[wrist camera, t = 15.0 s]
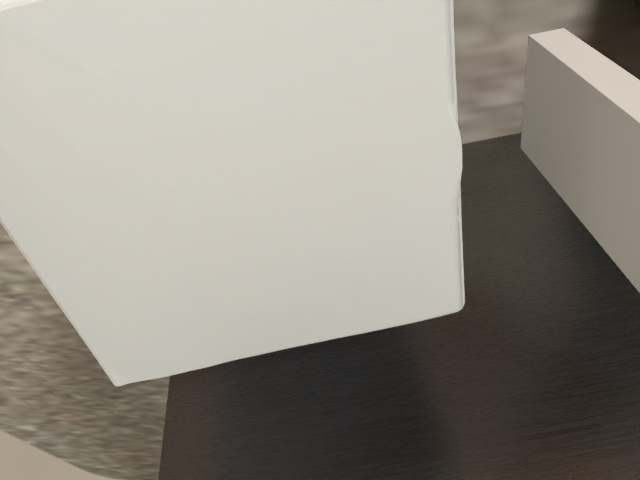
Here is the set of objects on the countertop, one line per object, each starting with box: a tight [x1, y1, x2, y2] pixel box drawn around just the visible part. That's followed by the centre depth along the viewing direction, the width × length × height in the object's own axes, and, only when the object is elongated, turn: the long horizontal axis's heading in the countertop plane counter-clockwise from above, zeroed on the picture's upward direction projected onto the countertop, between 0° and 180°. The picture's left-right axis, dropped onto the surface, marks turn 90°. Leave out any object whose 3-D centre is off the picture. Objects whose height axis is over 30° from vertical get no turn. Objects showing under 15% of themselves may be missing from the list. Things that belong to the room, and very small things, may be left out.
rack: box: [159, 133, 640, 480], centre depth 28 cm, size 23×21×18 cm
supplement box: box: [0, 0, 465, 387], centre depth 16 cm, size 9×9×15 cm
